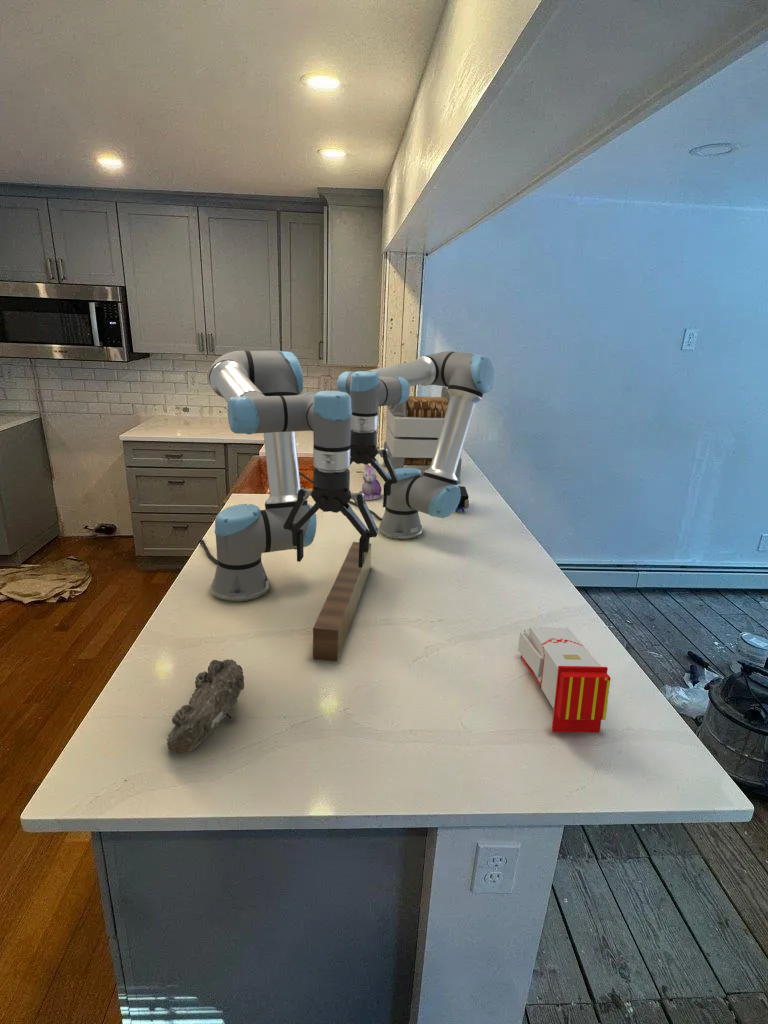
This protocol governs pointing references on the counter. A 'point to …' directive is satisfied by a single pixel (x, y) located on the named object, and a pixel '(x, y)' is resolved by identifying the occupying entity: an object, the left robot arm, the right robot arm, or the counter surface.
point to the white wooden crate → (416, 430)
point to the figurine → (371, 484)
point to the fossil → (206, 705)
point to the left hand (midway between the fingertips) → (330, 562)
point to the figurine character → (463, 499)
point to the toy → (566, 678)
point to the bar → (340, 606)
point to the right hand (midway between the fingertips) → (361, 504)
